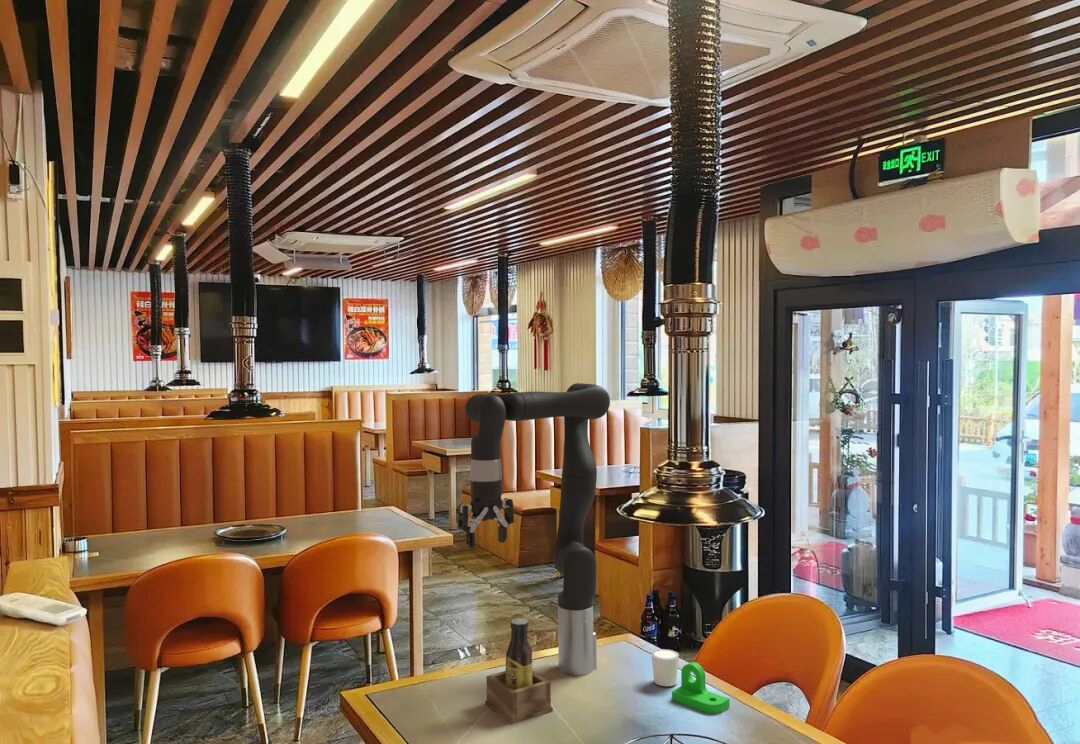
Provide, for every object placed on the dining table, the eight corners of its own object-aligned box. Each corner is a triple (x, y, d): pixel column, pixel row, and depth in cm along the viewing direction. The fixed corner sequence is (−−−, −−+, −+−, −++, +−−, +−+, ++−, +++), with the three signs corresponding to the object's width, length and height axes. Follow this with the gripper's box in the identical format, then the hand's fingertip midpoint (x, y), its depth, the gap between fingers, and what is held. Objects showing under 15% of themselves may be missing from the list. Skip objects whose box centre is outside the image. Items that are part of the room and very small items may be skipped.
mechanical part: (671, 699, 186) (671, 666, 185) (686, 691, 190) (686, 659, 190) (715, 715, 177) (715, 681, 177) (729, 707, 181) (729, 673, 181)
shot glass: (662, 673, 200) (662, 646, 200) (684, 681, 195) (684, 653, 195) (646, 681, 195) (645, 654, 195) (668, 690, 190) (668, 661, 190)
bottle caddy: (524, 693, 189) (523, 664, 189) (552, 712, 179) (552, 682, 179) (485, 705, 183) (484, 676, 183) (512, 725, 173) (511, 694, 173)
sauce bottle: (501, 701, 183) (500, 617, 182) (525, 696, 185) (524, 613, 185) (512, 713, 177) (511, 626, 176) (537, 707, 180) (536, 622, 179)
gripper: (502, 472, 193) (503, 537, 194) (452, 478, 185) (452, 546, 185) (519, 476, 187) (520, 543, 188) (468, 482, 179) (468, 552, 179)
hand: (486, 544), depth 187 cm, fingers open, 8 cm apart
